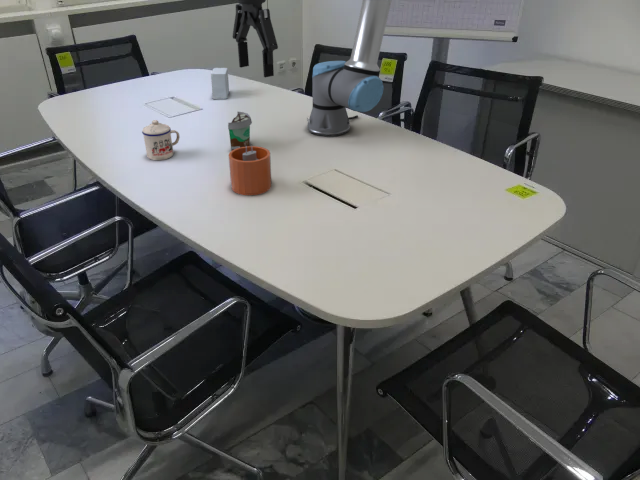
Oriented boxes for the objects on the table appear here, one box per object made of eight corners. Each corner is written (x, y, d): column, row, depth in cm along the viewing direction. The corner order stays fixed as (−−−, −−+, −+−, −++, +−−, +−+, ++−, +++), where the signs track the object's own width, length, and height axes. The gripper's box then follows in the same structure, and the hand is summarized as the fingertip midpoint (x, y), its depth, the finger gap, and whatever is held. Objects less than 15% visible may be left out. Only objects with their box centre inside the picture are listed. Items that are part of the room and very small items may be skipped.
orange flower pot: (259, 174, 162) (257, 143, 156) (278, 188, 154) (277, 155, 148) (224, 184, 157) (221, 151, 151) (243, 199, 149) (240, 165, 143)
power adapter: (240, 185, 155) (237, 145, 148) (256, 180, 157) (254, 140, 151) (246, 188, 153) (243, 148, 146) (262, 183, 155) (260, 144, 148)
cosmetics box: (227, 99, 227) (225, 73, 221) (212, 99, 227) (210, 73, 221) (229, 92, 235) (227, 67, 230) (215, 92, 236) (212, 67, 230)
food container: (248, 153, 176) (246, 124, 170) (230, 152, 177) (227, 123, 171) (256, 140, 186) (255, 111, 180) (239, 139, 187) (237, 111, 181)
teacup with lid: (152, 163, 172) (146, 127, 165) (142, 154, 178) (136, 120, 171) (187, 154, 177) (182, 119, 170) (175, 146, 183) (170, 112, 177)
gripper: (215, -17, 145) (223, 64, 157) (262, -8, 127) (267, 83, 139) (239, -20, 148) (245, 60, 160) (289, -12, 130) (291, 78, 142)
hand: (256, 71), depth 149 cm, fingers open, 13 cm apart
